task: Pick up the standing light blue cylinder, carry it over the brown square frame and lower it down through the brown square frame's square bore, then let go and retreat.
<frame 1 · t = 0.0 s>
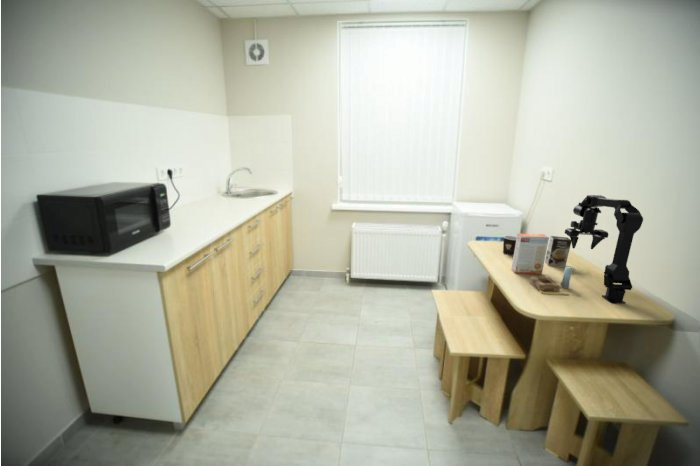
hand: (582, 248, 174), 15 cm above the table, fingers open, 9 cm apart
brown square frame: (543, 287, 162), on the table
lace: (554, 293, 156), on the table
cracker box: (525, 272, 181), on the table
coffee box: (554, 264, 192), on the table
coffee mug: (510, 254, 207), on the table
light blue cylinder: (564, 286, 164), on the table
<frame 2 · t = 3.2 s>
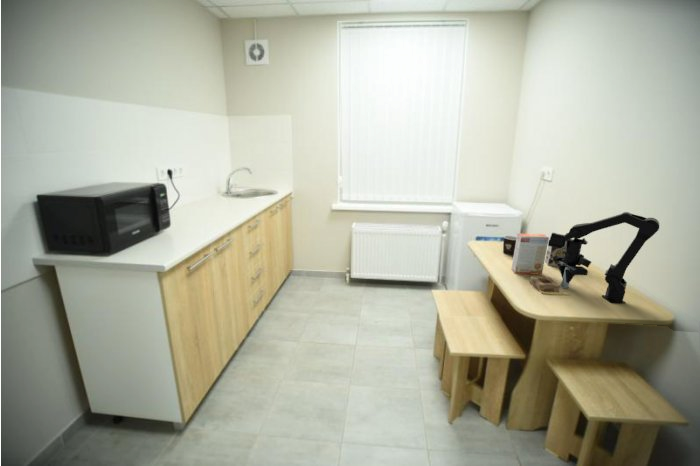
hand: (565, 281, 163), 3 cm above the table, fingers closed on light blue cylinder, 3 cm apart
light blue cylinder: (564, 286, 164), on the table, touching gripper
everything else where it was.
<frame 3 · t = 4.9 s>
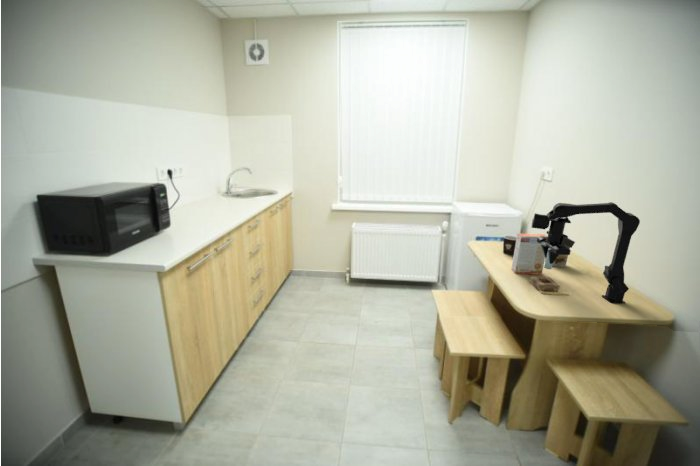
hand: (549, 262, 159), 13 cm above the table, fingers closed on light blue cylinder, 3 cm apart
light blue cylinder: (547, 268, 160), point 10 cm above the table, touching gripper
everything else where it was.
when the fingers open (4 cm above the table, at t = 6.9 s): light blue cylinder drops 1 cm, resting in brown square frame.
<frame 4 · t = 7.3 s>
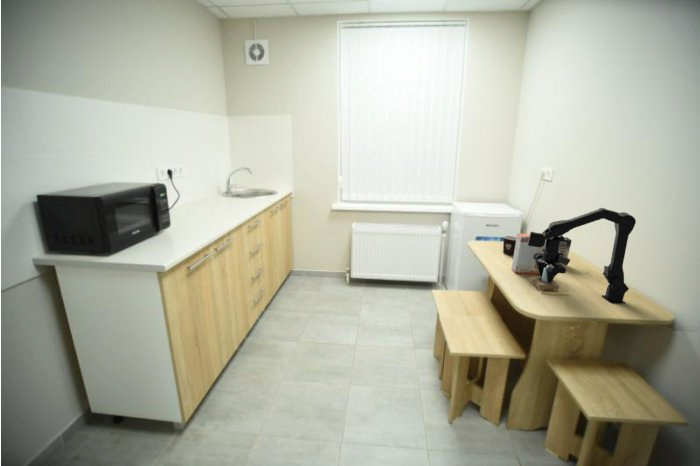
hand: (545, 279, 161), 4 cm above the table, fingers open, 7 cm apart
light blue cylinder: (543, 287, 162), resting in brown square frame
everything else where it was.
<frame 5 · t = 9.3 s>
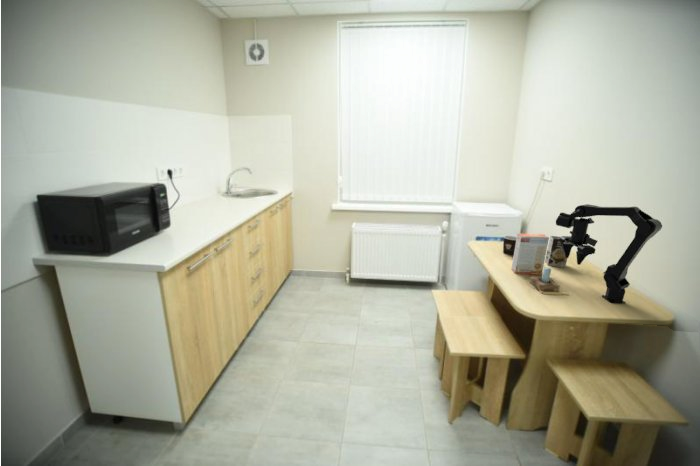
hand: (572, 261, 165), 12 cm above the table, fingers open, 9 cm apart
nothing on the table moved.
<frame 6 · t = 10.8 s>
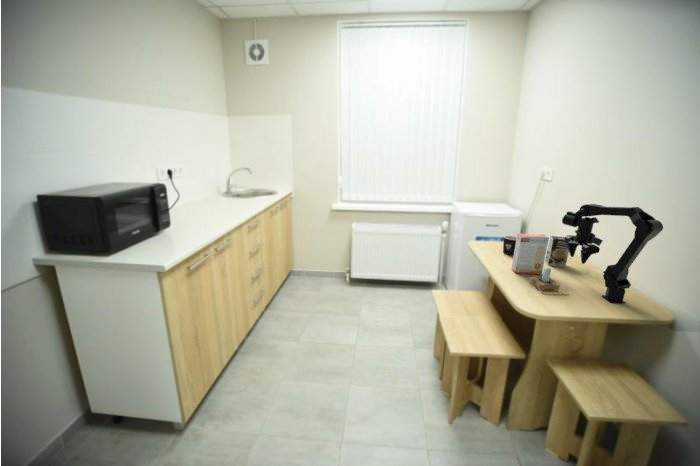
hand: (577, 260, 166), 12 cm above the table, fingers open, 9 cm apart
nothing on the table moved.
at the end: light blue cylinder 0.0 cm off-centre on the brown square frame, point 0.0 cm above the brown square frame's base; light blue cylinder tilted 0°; the gripper is holding nothing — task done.
